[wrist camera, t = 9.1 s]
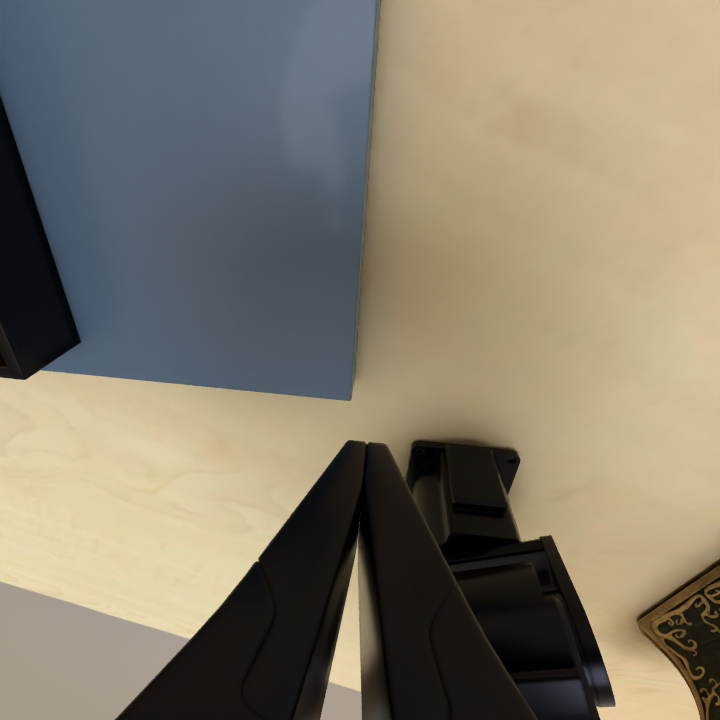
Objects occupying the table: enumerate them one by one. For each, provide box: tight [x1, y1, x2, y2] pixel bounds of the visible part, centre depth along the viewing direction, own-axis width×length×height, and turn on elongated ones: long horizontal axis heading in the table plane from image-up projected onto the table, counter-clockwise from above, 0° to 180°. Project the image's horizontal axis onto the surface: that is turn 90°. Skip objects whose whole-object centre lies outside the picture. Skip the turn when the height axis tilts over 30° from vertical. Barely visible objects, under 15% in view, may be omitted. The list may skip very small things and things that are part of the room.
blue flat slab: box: [0, 0, 381, 401], centre depth 17 cm, size 18×24×2 cm
